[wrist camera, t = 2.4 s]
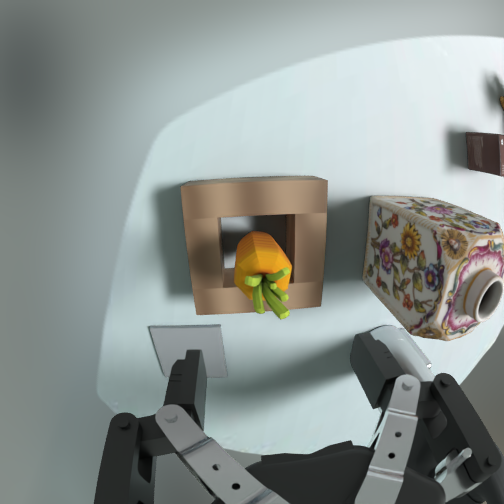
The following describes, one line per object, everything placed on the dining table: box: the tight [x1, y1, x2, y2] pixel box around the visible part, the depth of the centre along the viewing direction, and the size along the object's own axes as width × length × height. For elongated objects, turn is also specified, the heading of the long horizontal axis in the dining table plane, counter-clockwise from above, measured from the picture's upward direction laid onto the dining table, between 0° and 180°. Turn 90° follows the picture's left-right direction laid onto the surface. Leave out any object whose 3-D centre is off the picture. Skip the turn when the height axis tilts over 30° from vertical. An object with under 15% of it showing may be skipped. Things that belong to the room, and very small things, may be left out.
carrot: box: [234, 231, 292, 319], centre depth 25 cm, size 5×5×15 cm
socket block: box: [181, 176, 328, 315], centre depth 29 cm, size 14×14×5 cm
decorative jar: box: [362, 196, 504, 341], centre depth 25 cm, size 12×12×18 cm
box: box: [466, 132, 504, 176], centre depth 25 cm, size 6×6×7 cm
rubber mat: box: [150, 325, 227, 378], centre depth 37 cm, size 10×10×1 cm
